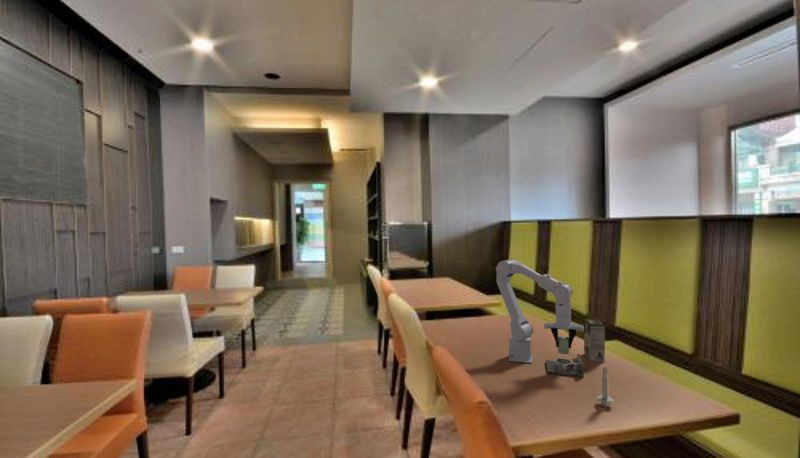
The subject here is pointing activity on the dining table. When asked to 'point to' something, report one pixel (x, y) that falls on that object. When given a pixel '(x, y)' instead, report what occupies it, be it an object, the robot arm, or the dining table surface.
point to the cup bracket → (566, 367)
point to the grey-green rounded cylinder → (563, 345)
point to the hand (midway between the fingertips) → (563, 347)
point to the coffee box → (594, 340)
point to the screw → (605, 391)
